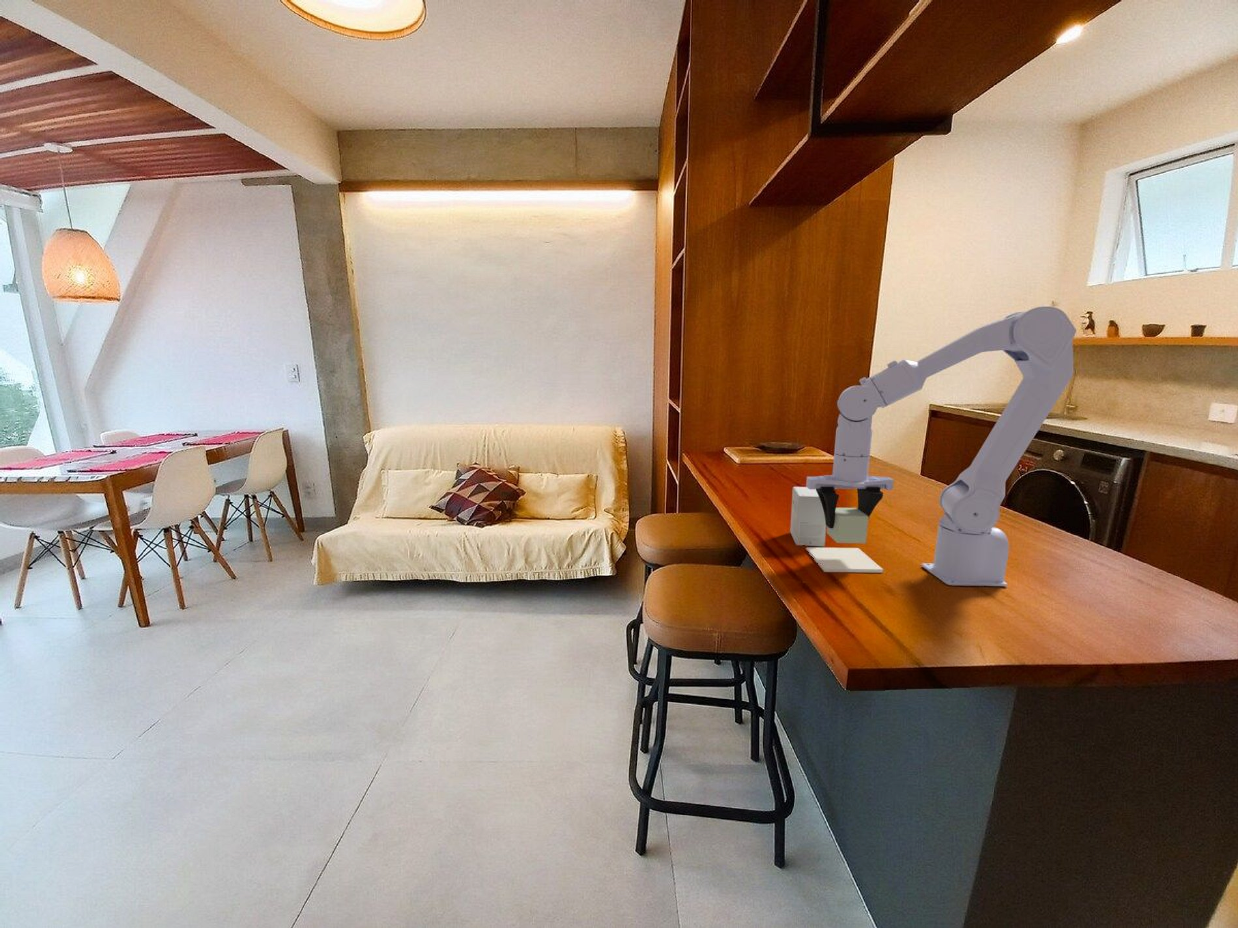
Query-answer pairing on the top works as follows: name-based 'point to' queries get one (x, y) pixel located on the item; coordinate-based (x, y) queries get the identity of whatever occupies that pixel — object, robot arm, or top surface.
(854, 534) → the cube
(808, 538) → the small box
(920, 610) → the top surface
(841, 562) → the tile
